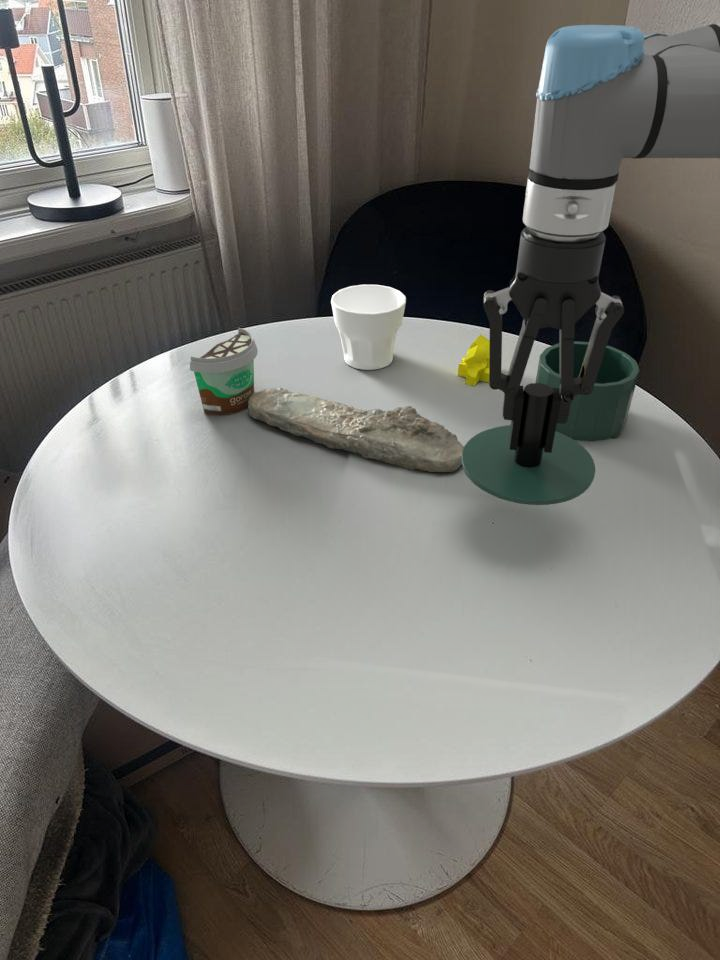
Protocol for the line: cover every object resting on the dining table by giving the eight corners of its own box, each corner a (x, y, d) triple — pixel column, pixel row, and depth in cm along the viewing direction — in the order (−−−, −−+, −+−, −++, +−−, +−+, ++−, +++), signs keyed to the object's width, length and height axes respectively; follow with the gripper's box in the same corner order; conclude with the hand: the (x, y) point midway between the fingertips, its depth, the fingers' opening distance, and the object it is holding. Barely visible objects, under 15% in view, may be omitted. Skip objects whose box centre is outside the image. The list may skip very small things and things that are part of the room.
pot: (617, 399, 111) (630, 344, 105) (630, 447, 100) (646, 389, 95) (529, 393, 113) (538, 338, 107) (532, 440, 102) (542, 382, 96)
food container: (229, 427, 105) (221, 367, 99) (197, 417, 108) (187, 357, 102) (277, 391, 114) (272, 334, 108) (247, 382, 116) (240, 326, 110)
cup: (380, 337, 129) (380, 278, 123) (418, 364, 121) (421, 303, 114) (320, 353, 124) (317, 293, 118) (355, 383, 116) (354, 320, 109)
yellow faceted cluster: (502, 367, 120) (507, 325, 115) (487, 388, 114) (492, 345, 109) (469, 360, 122) (473, 318, 117) (453, 381, 116) (456, 337, 111)
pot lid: (586, 437, 85) (602, 361, 78) (600, 515, 73) (621, 432, 67) (463, 429, 87) (469, 353, 80) (458, 503, 75) (465, 422, 69)
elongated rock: (272, 400, 114) (236, 433, 107) (267, 372, 111) (229, 403, 104) (477, 448, 99) (450, 489, 93) (478, 416, 96) (450, 456, 89)
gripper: (473, 239, 62) (455, 458, 76) (664, 246, 60) (609, 469, 74) (475, 213, 68) (458, 421, 82) (649, 219, 66) (601, 431, 80)
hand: (530, 443), depth 78 cm, fingers closed on pot lid, 3 cm apart
